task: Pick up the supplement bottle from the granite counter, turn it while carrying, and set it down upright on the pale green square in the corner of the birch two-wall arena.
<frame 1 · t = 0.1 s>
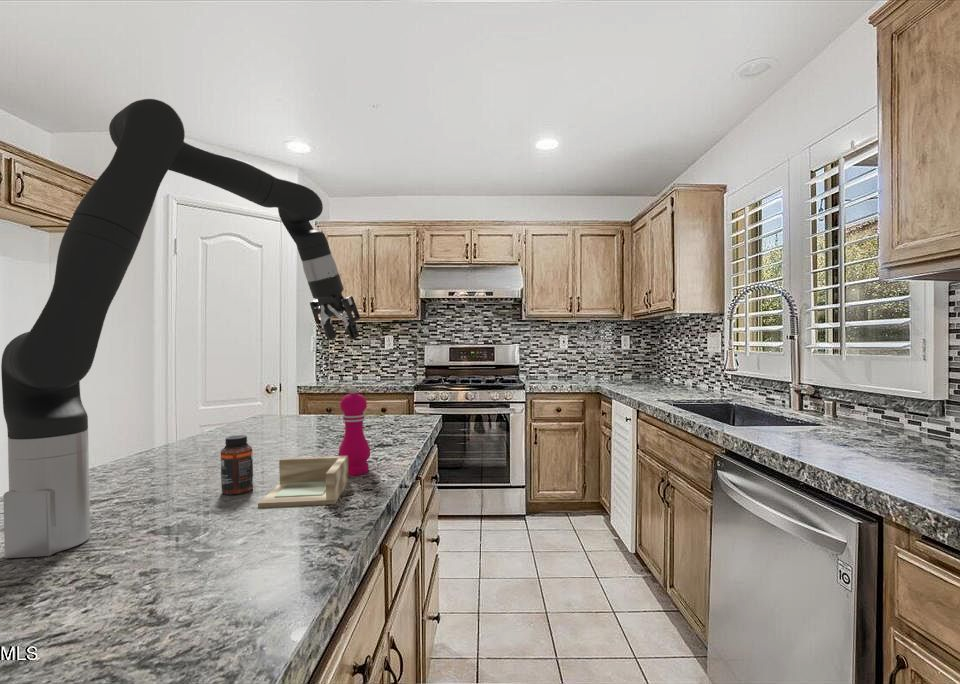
hand: (343, 338, 121), 31 cm above the countertop, tool tilted 20°, fingers open, 8 cm apart
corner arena: (306, 493, 97), on the countertop
pepper mill: (354, 473, 113), on the countertop
supplement bottle: (237, 492, 100), on the countertop
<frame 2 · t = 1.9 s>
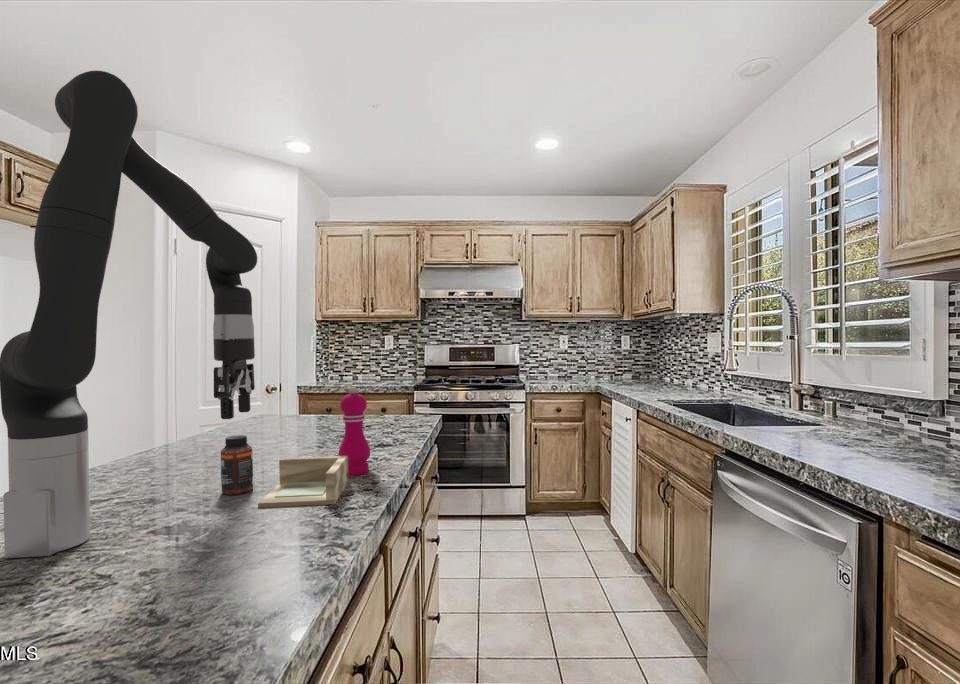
hand: (236, 415, 100), 16 cm above the countertop, tool pointing down, fingers open, 8 cm apart
nothing on the countertop moved.
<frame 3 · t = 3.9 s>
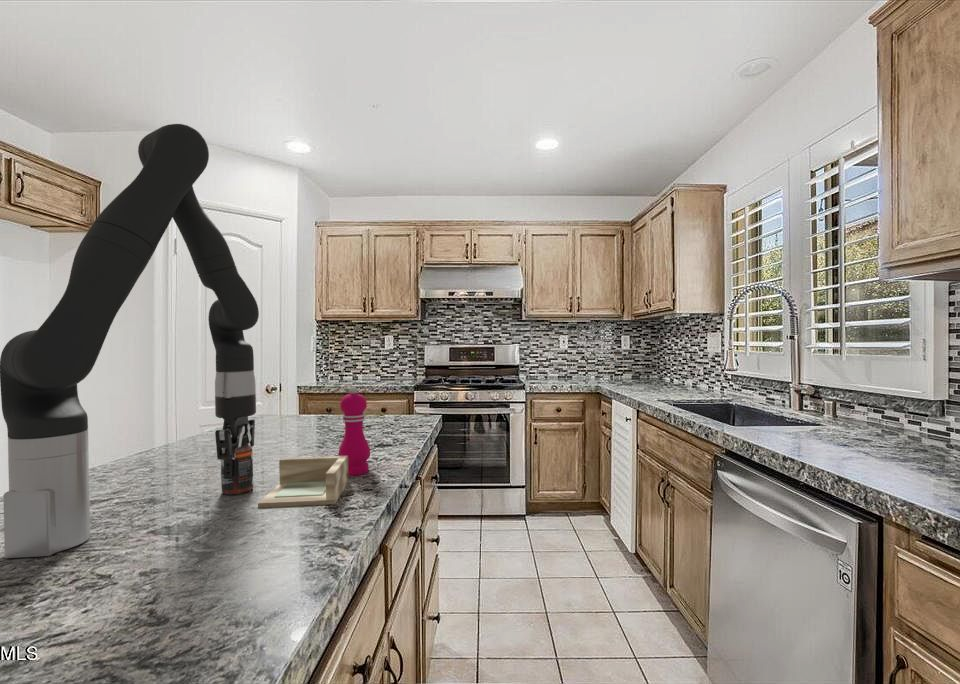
hand: (237, 473, 100), 4 cm above the countertop, tool pointing down, fingers closed on supplement bottle, 6 cm apart
supplement bottle: (237, 492, 100), on the countertop, touching gripper
everything else where it was.
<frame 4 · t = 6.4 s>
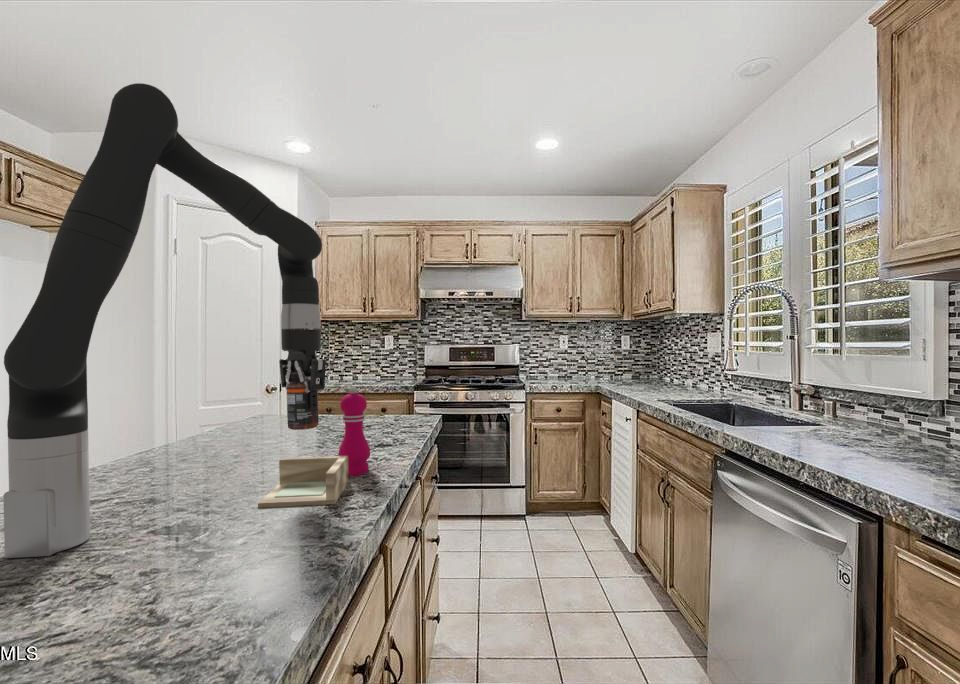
hand: (302, 410, 97), 17 cm above the countertop, tool pointing down, fingers closed on supplement bottle, 6 cm apart
supplement bottle: (303, 428, 97), point 13 cm above the countertop, touching gripper
everything else where it was.
when the fingers open (6 cm above the countertop, at t = 9.2 s): supplement bottle drops 1 cm, resting on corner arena.
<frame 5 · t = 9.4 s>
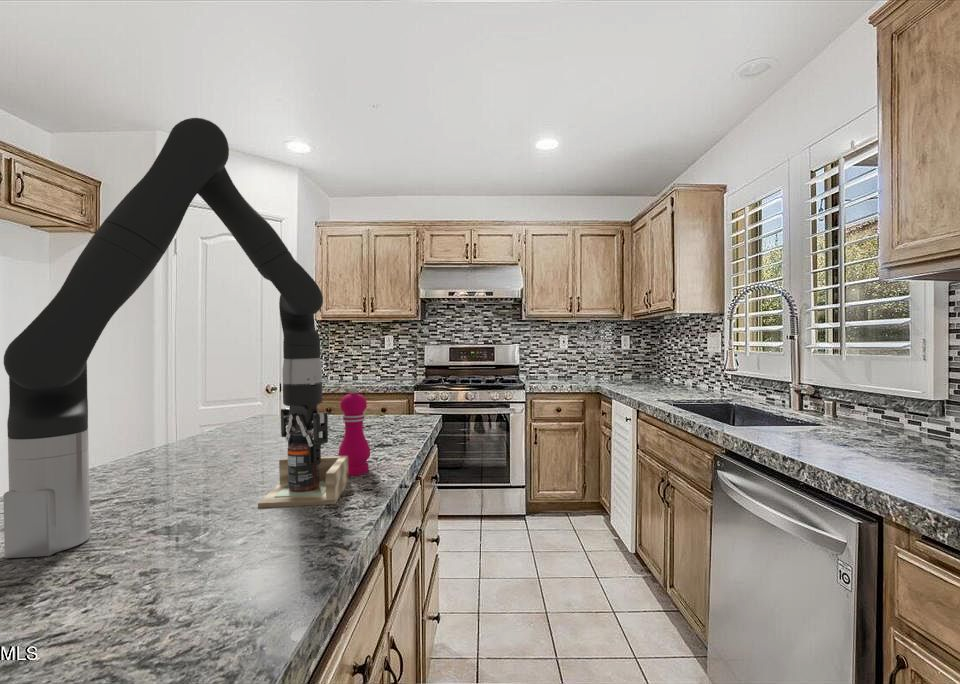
hand: (304, 461, 97), 6 cm above the countertop, tool pointing down, fingers open, 7 cm apart
supplement bottle: (304, 489, 98), point 1 cm above the countertop, touching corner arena
everything else where it was.
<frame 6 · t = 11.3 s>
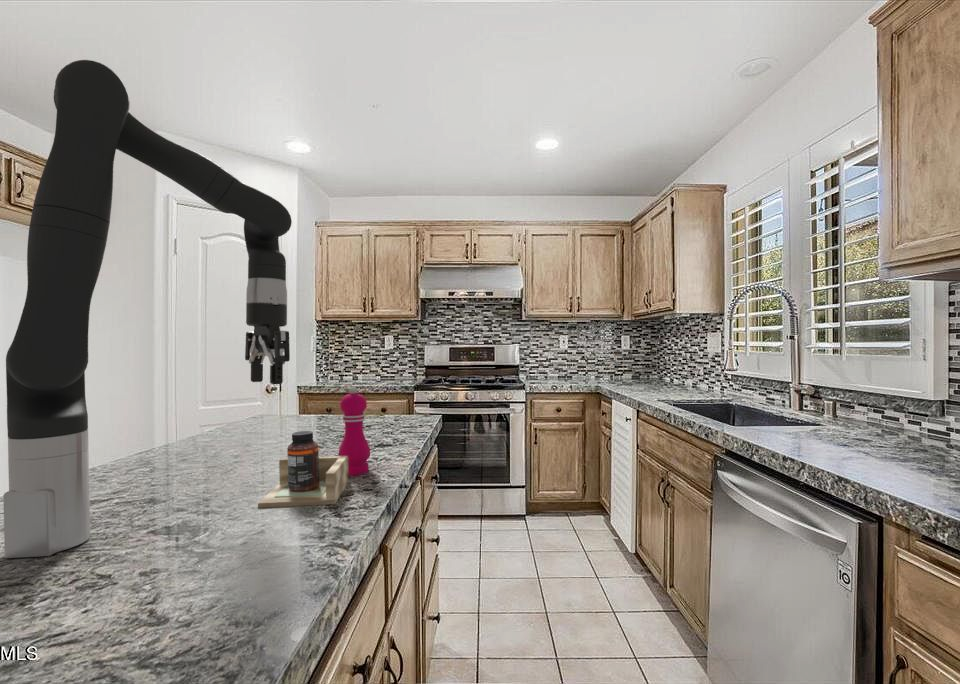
hand: (266, 383, 97), 23 cm above the countertop, tool pointing down, fingers open, 8 cm apart
nothing on the countertop moved.
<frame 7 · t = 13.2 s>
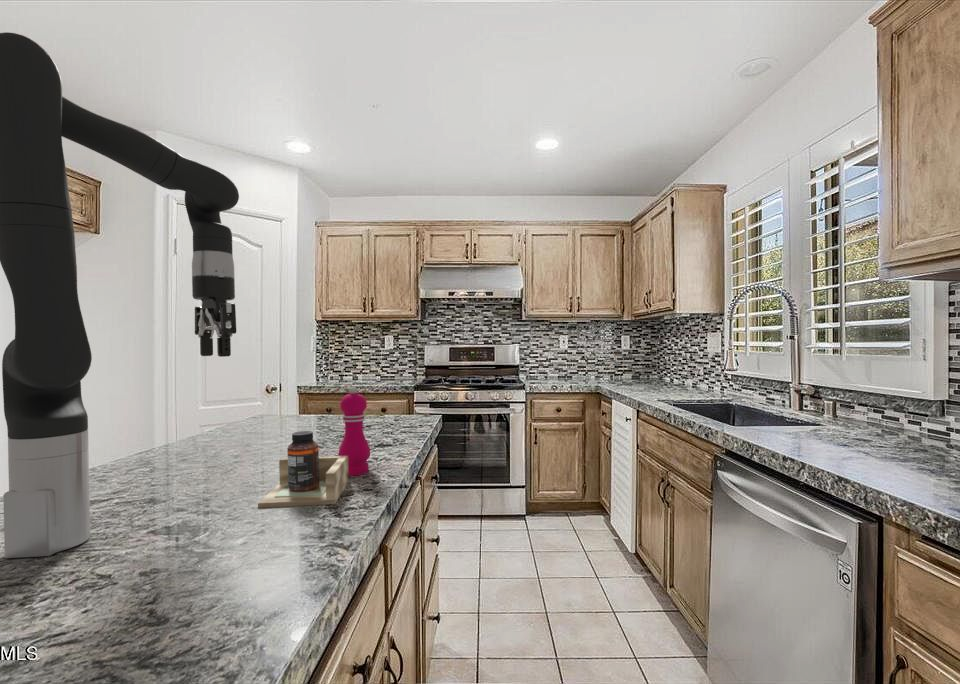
hand: (215, 356, 97), 28 cm above the countertop, tool pointing down, fingers open, 8 cm apart
nothing on the countertop moved.
at the end: supplement bottle inside the target area on the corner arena (0.6 cm from its centre), point 0.8 cm above the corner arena's base; supplement bottle tilted 0°; the gripper is holding nothing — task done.
